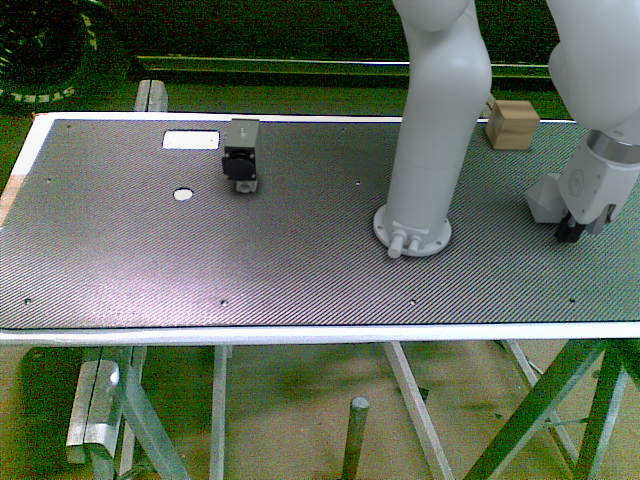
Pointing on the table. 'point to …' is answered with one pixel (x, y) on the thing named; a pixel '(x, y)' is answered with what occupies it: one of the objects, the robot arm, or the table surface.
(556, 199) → the die
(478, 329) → the table surface
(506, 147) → the maple block
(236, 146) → the pneumatic valve
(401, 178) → the robot arm
